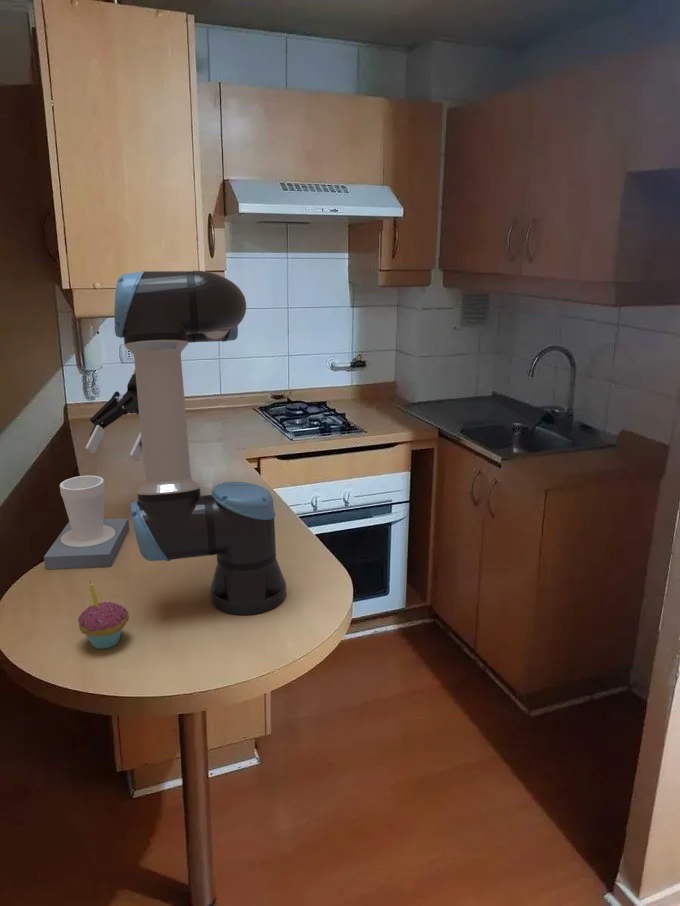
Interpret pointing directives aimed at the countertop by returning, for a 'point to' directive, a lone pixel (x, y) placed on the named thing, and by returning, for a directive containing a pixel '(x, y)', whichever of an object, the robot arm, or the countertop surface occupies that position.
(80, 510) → the foam cup
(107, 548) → the pedestal
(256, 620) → the countertop surface
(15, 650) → the countertop surface
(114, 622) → the cupcake
